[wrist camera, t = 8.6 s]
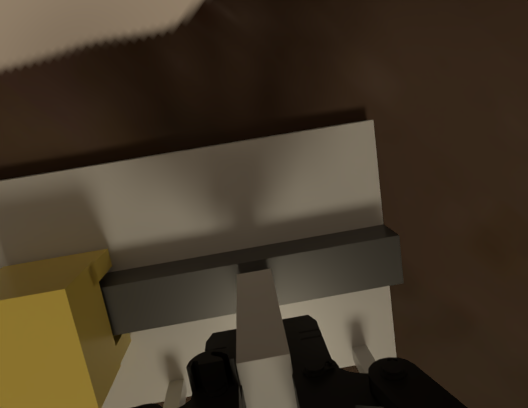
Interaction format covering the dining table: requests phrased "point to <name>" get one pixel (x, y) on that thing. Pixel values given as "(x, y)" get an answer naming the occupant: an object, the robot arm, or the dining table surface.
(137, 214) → the white pegged slab
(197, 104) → the dining table surface
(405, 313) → the dining table surface
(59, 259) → the yellow sliding cube
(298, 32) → the dining table surface
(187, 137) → the dining table surface
